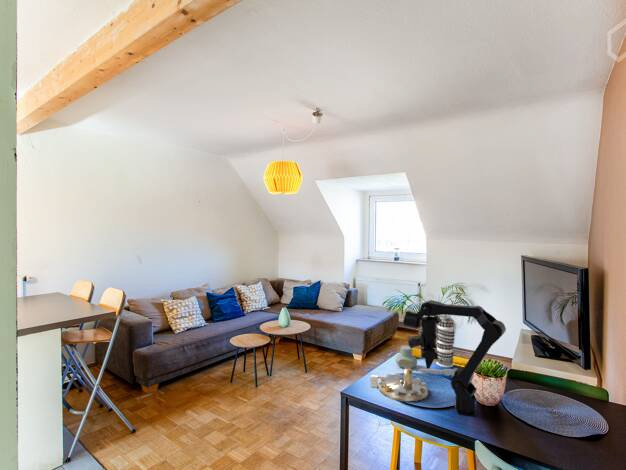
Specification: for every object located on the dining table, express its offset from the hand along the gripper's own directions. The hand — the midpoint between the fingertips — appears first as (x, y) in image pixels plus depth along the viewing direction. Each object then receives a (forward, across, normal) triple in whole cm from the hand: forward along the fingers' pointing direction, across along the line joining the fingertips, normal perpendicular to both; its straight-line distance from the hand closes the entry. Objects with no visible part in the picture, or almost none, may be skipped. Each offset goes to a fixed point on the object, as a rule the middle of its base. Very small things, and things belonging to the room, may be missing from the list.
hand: (427, 368), depth 144 cm
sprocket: (+11, -5, -10) cm, 16 cm away
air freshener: (+13, -33, -9) cm, 37 cm away
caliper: (+13, -26, +6) cm, 30 cm away
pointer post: (+13, -5, -22) cm, 27 cm away
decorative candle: (+13, -43, +10) cm, 46 cm away
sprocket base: (+13, -5, -10) cm, 17 cm away
